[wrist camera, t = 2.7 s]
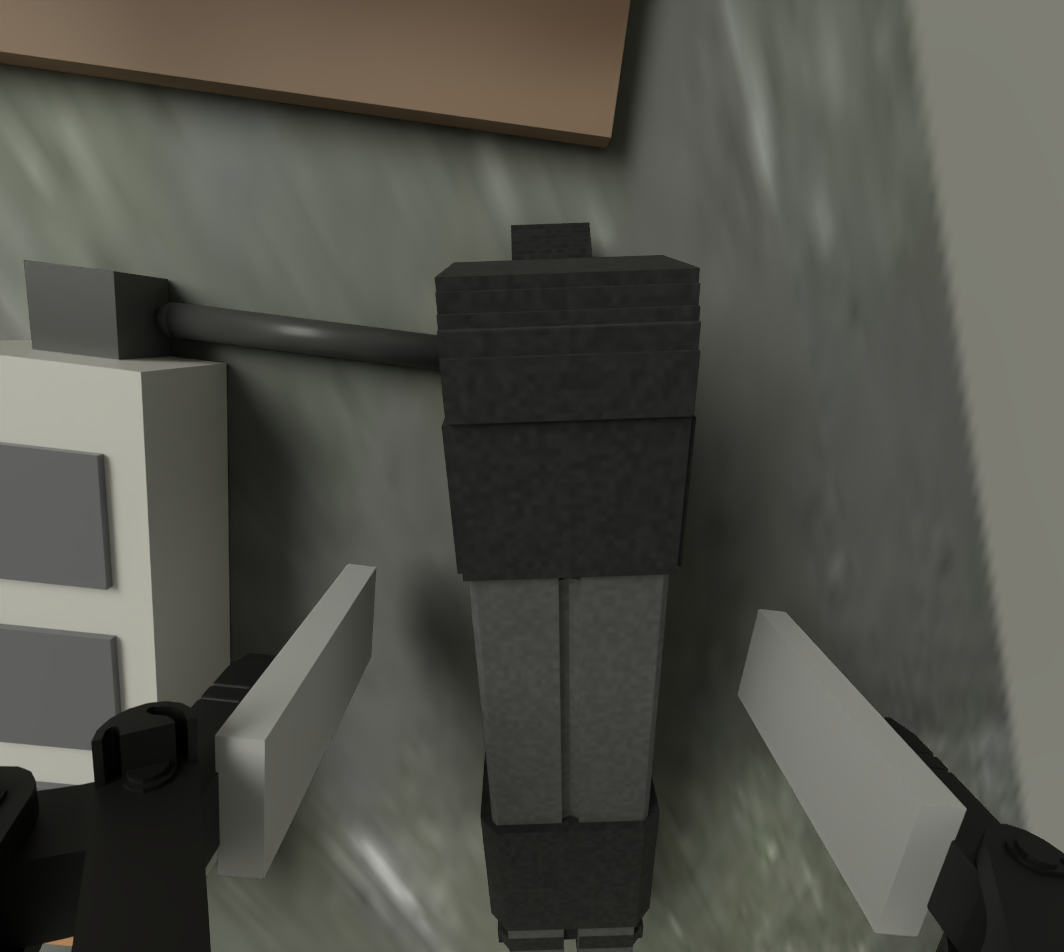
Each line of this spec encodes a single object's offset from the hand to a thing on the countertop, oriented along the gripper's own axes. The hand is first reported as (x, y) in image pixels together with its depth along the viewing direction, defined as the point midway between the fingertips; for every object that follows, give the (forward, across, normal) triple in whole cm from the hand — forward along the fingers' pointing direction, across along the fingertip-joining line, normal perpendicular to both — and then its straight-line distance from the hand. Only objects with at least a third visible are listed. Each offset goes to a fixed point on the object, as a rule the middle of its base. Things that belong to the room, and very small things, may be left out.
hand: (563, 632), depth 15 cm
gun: (+2, 0, 0) cm, 2 cm away
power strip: (+2, -9, -1) cm, 9 cm away
